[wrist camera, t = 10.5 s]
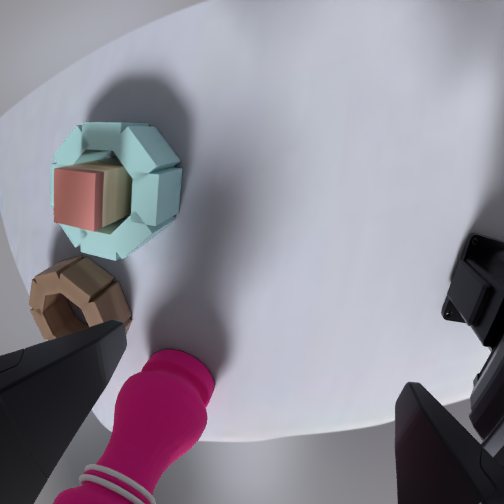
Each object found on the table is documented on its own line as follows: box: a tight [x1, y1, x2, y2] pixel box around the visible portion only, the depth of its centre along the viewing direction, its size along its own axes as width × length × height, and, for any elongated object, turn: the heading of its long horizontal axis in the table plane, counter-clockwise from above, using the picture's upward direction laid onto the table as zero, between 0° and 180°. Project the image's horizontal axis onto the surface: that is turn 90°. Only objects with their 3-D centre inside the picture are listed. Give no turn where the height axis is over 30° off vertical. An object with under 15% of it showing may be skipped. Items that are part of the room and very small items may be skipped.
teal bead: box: [50, 122, 183, 261], centre depth 20 cm, size 9×9×4 cm
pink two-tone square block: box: [54, 158, 133, 232], centre depth 19 cm, size 3×3×6 cm
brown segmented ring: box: [29, 256, 132, 341], centre depth 24 cm, size 9×9×4 cm
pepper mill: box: [53, 349, 214, 504], centre depth 17 cm, size 7×7×20 cm
